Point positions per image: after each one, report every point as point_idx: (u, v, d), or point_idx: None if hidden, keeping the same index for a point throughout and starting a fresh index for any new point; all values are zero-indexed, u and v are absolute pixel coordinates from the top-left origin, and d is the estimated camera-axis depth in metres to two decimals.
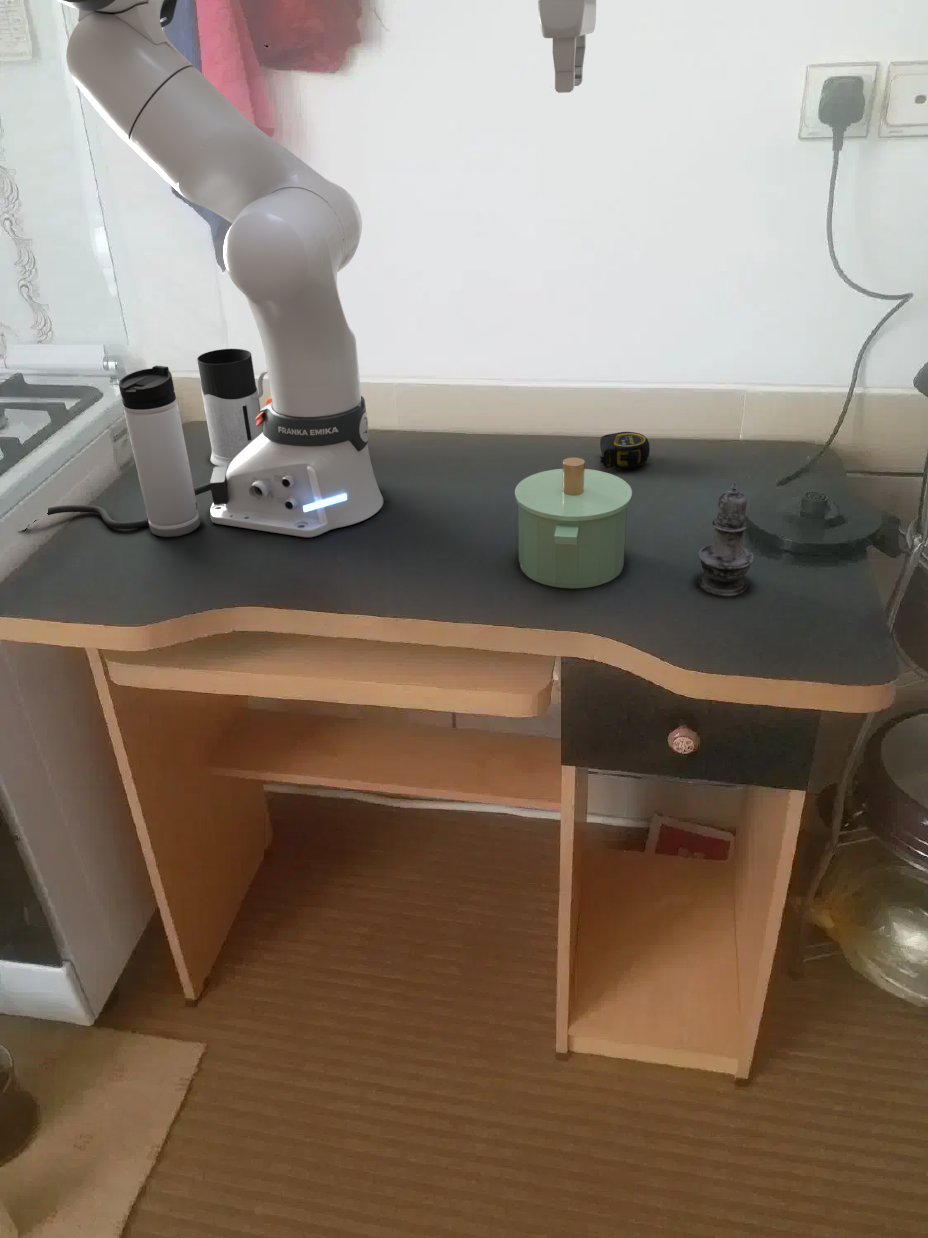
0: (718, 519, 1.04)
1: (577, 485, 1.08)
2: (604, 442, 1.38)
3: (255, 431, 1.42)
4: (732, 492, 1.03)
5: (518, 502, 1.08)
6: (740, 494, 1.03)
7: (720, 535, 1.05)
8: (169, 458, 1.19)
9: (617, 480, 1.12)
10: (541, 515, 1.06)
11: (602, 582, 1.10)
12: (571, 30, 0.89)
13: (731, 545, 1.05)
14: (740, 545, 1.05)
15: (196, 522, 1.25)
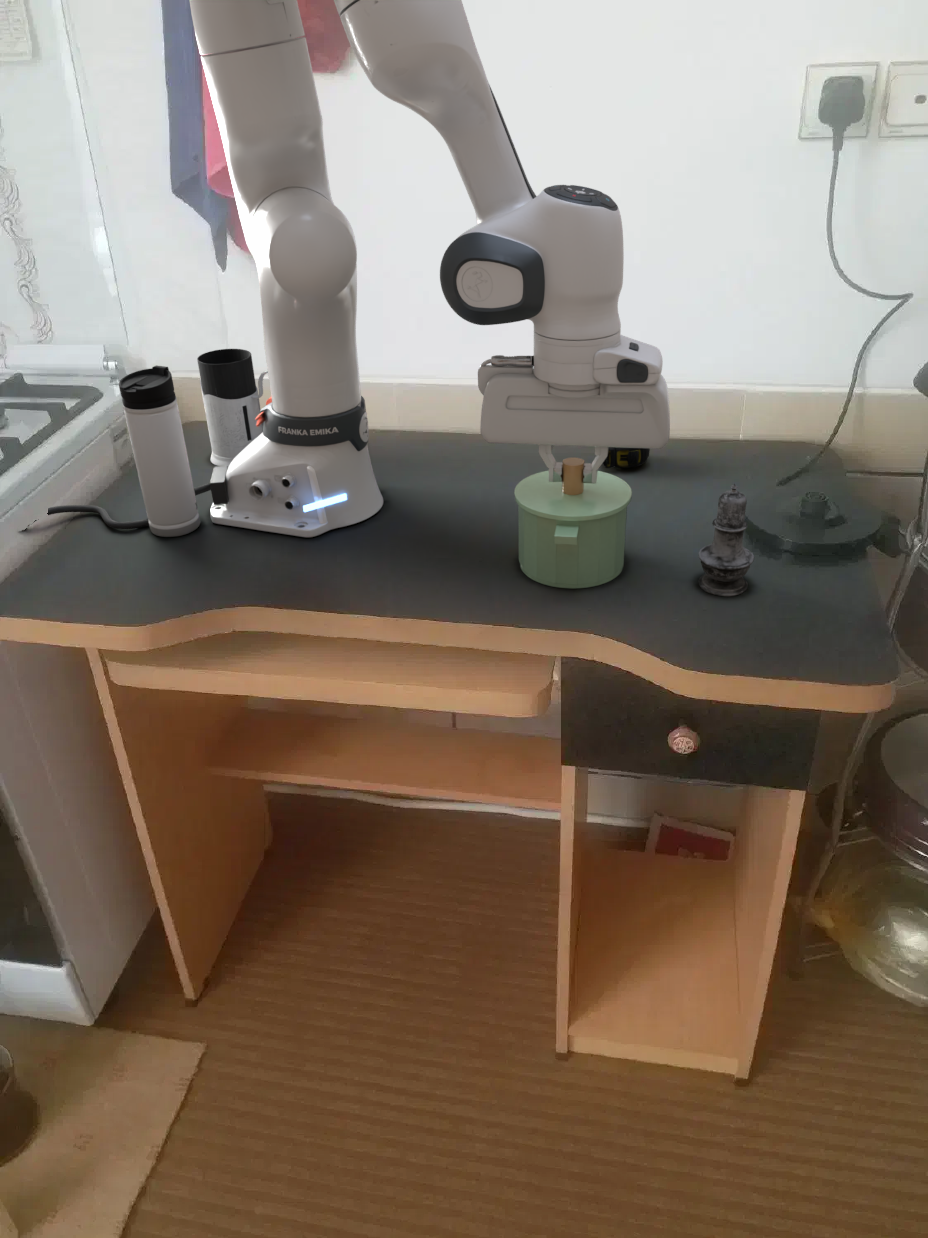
0: (718, 519, 1.04)
1: (576, 485, 1.08)
2: None
3: (255, 431, 1.42)
4: (732, 492, 1.03)
5: (518, 502, 1.08)
6: (740, 494, 1.03)
7: (720, 535, 1.05)
8: (169, 458, 1.19)
9: (617, 480, 1.12)
10: (541, 515, 1.06)
11: (602, 582, 1.10)
12: None
13: (731, 545, 1.05)
14: (740, 545, 1.05)
15: (196, 522, 1.25)
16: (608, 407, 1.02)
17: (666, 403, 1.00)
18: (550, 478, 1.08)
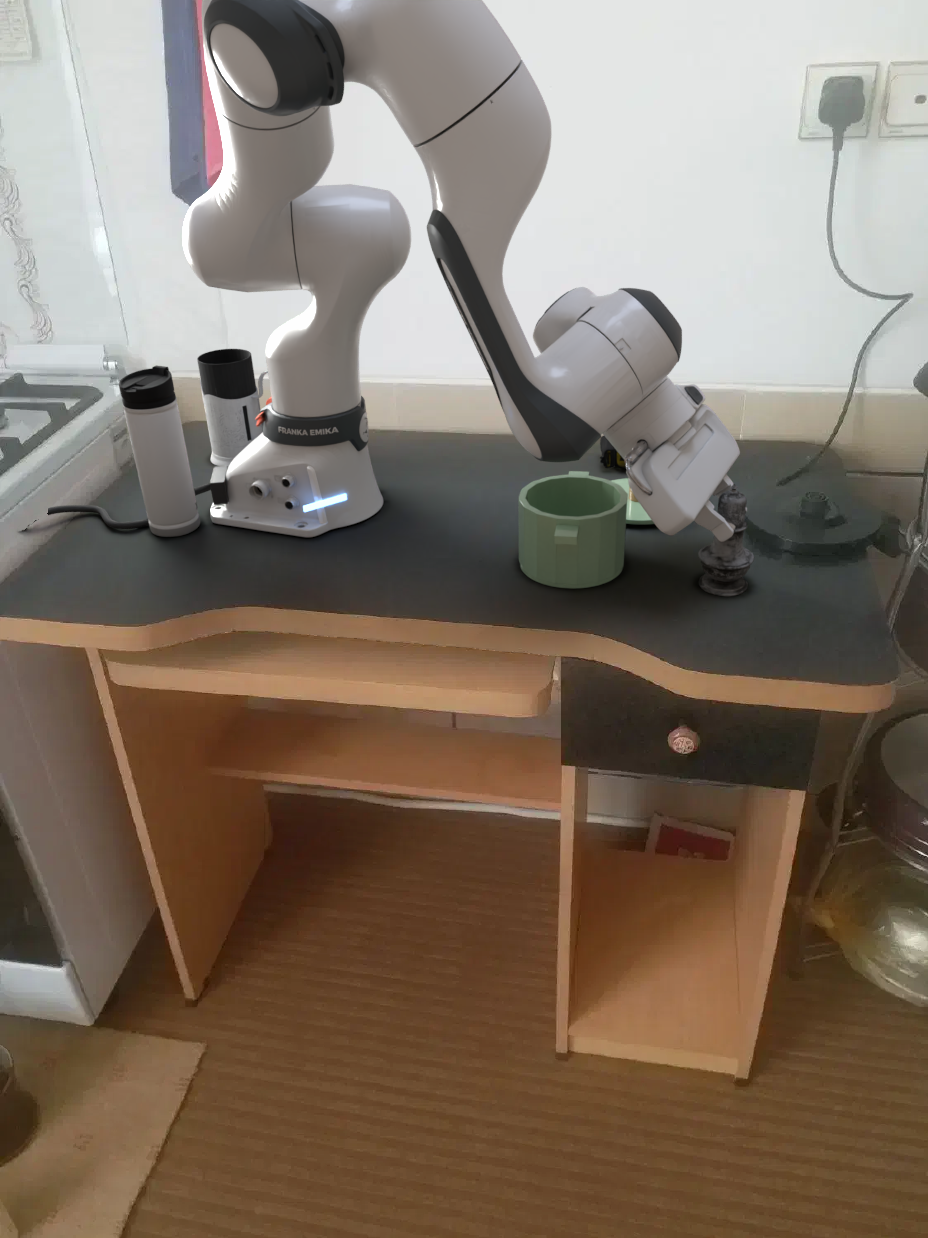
0: None
1: None
2: (604, 442, 1.38)
3: (255, 431, 1.42)
4: (732, 492, 1.03)
5: None
6: (740, 494, 1.03)
7: None
8: (169, 458, 1.19)
9: None
10: None
11: (602, 582, 1.10)
12: None
13: (731, 545, 1.05)
14: (740, 545, 1.05)
15: (196, 522, 1.25)
16: (701, 441, 1.06)
17: (715, 414, 1.10)
18: (731, 529, 1.02)
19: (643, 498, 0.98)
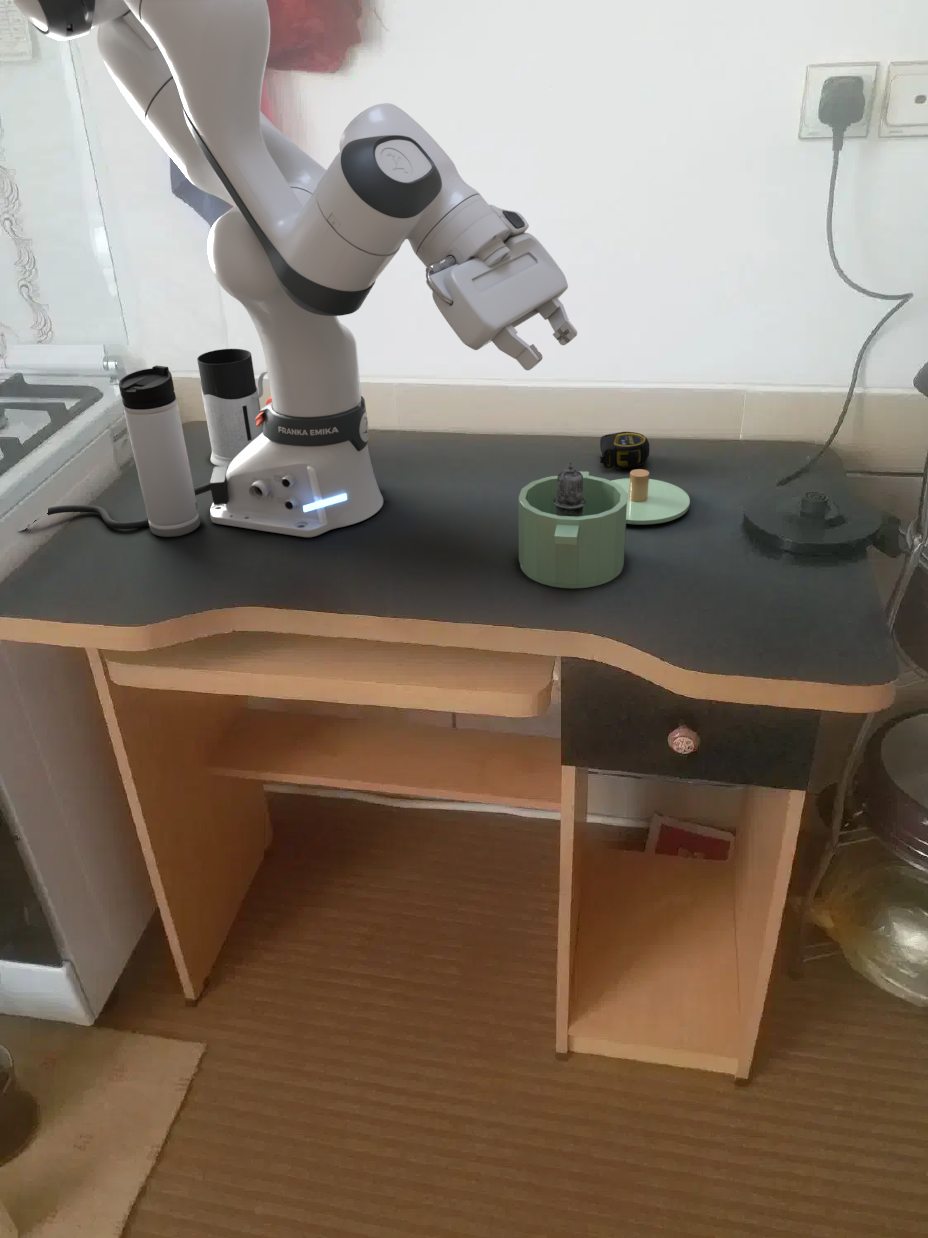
0: (557, 496, 1.10)
1: (642, 493, 1.25)
2: (604, 442, 1.38)
3: (255, 431, 1.42)
4: (569, 471, 1.08)
5: None
6: (576, 472, 1.08)
7: (559, 511, 1.10)
8: (169, 458, 1.19)
9: (675, 488, 1.28)
10: None
11: (602, 582, 1.10)
12: None
13: None
14: None
15: (196, 522, 1.25)
16: (521, 267, 1.04)
17: (542, 246, 1.08)
18: (536, 356, 0.98)
19: (445, 309, 0.95)
